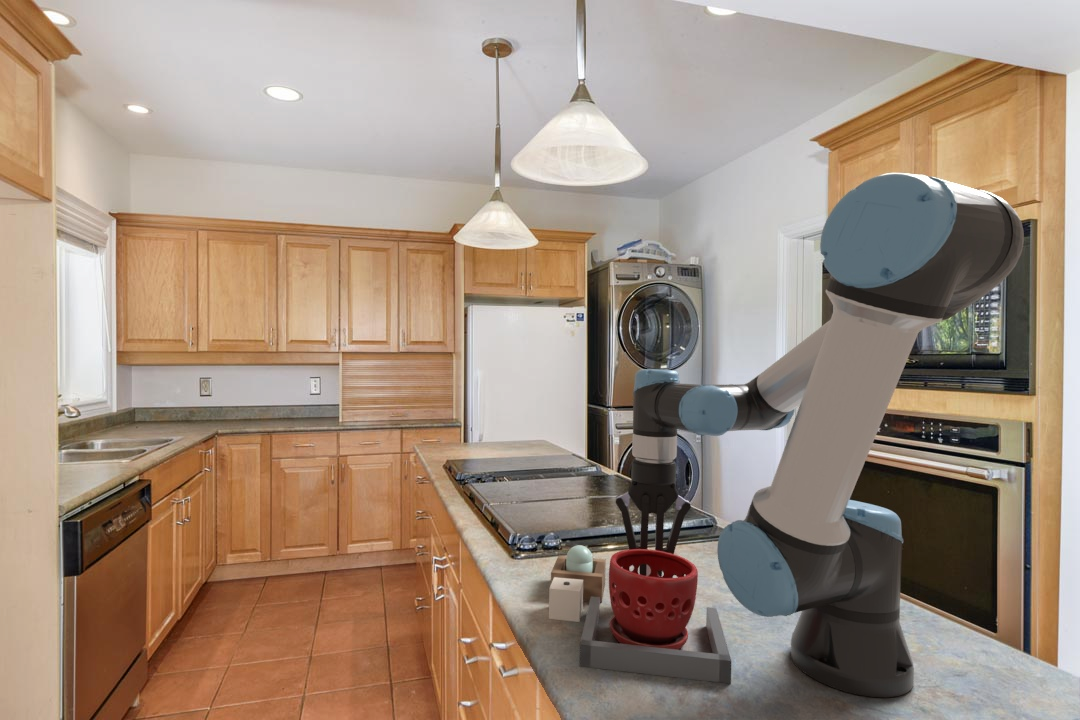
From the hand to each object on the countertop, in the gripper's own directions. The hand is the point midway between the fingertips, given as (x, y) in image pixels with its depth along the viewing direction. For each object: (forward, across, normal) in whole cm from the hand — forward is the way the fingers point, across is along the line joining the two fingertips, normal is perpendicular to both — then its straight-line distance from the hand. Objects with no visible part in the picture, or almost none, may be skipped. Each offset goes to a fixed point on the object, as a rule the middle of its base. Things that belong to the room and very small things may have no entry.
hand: (649, 594), depth 101 cm
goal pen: (+2, 0, +14) cm, 14 cm away
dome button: (+1, +13, -4) cm, 13 cm away
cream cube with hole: (+2, +14, +6) cm, 15 cm away
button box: (+2, +13, -4) cm, 13 cm away
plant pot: (+2, 0, +13) cm, 13 cm away
